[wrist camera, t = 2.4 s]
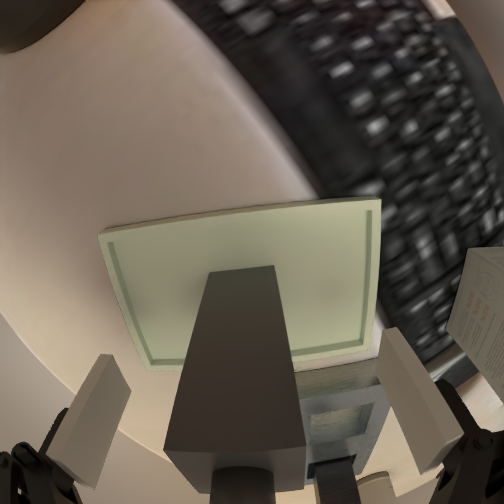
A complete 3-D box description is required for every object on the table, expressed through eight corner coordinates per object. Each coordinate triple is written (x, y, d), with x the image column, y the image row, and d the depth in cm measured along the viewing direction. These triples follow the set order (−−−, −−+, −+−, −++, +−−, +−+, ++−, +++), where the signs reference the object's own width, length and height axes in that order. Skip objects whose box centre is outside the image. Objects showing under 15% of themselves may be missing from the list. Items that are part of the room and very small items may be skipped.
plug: (209, 272, 17) (151, 507, 4) (274, 264, 17) (316, 508, 4) (220, 324, 19) (195, 534, 6) (279, 318, 19) (308, 531, 6)
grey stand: (283, 374, 21) (304, 550, 8) (386, 355, 21) (456, 501, 7) (290, 468, 29) (299, 562, 15) (356, 456, 28) (378, 545, 15)
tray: (105, 229, 17) (96, 234, 16) (372, 195, 16) (380, 199, 15) (150, 360, 21) (146, 370, 20) (364, 339, 20) (369, 349, 19)
